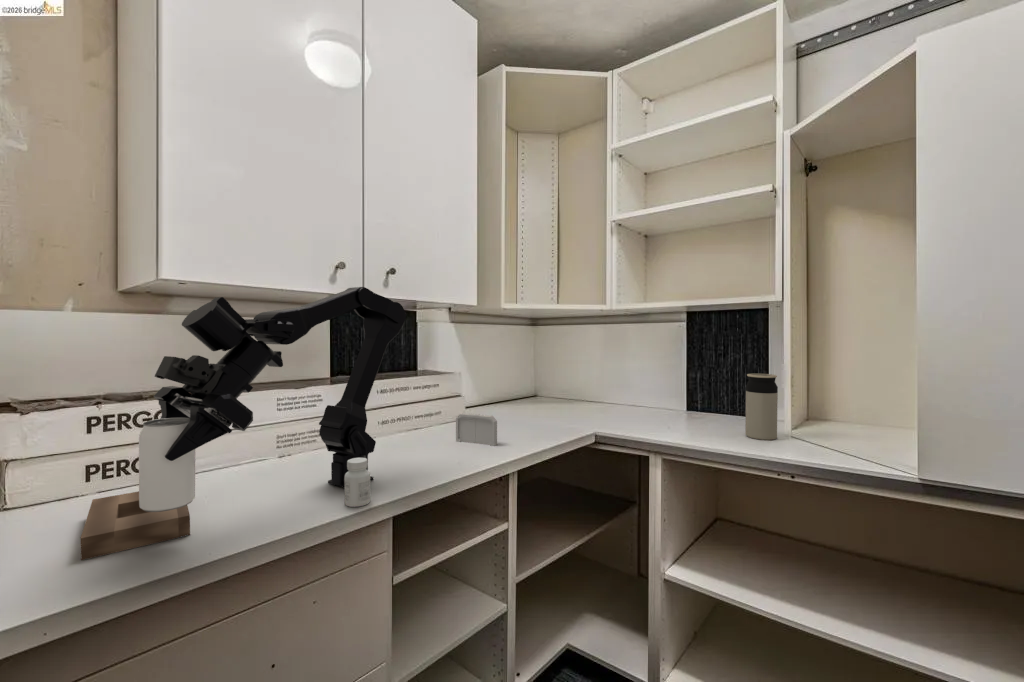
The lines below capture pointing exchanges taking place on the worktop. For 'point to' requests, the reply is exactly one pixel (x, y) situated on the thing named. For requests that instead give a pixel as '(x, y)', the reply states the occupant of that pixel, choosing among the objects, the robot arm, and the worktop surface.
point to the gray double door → (476, 429)
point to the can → (164, 467)
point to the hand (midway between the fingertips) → (157, 455)
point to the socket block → (128, 525)
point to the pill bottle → (357, 483)
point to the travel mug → (761, 407)
